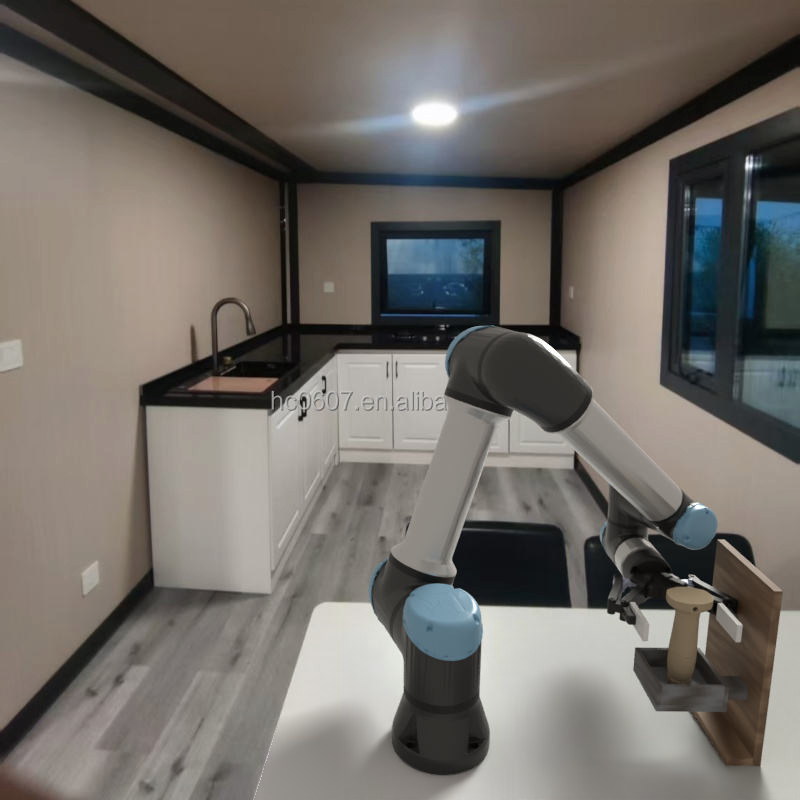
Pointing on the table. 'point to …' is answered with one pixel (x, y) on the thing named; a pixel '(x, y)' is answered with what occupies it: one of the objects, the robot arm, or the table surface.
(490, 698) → the table surface
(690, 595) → the handle
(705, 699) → the bracket
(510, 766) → the table surface
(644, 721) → the table surface
